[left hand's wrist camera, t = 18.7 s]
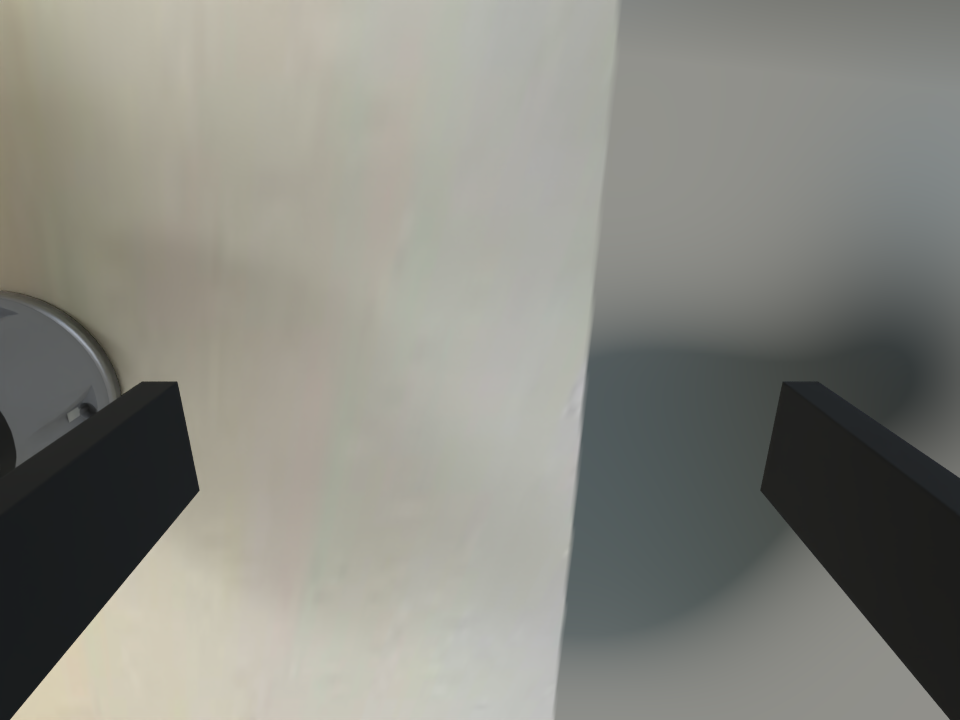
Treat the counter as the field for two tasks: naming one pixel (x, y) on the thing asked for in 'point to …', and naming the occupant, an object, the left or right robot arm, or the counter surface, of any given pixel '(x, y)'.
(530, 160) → the counter surface
